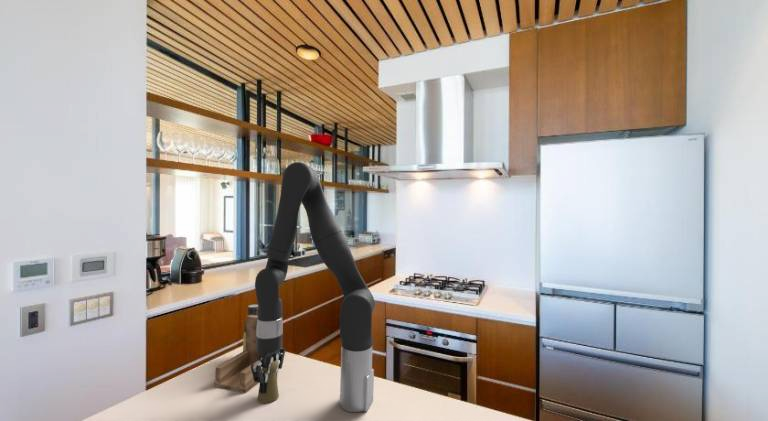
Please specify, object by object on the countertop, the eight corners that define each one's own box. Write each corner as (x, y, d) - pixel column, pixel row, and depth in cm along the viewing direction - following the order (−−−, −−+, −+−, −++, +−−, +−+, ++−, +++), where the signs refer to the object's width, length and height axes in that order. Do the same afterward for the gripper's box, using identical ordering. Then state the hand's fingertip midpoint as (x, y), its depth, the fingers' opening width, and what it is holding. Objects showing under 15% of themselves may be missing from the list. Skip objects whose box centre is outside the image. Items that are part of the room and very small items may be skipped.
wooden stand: (277, 368, 114) (278, 318, 114) (245, 392, 98) (247, 334, 99) (248, 363, 117) (250, 314, 117) (214, 386, 102) (215, 329, 102)
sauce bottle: (256, 362, 118) (257, 308, 118) (239, 361, 118) (241, 308, 119) (263, 354, 125) (264, 303, 125) (247, 354, 125) (248, 303, 125)
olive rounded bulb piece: (269, 389, 100) (270, 354, 100) (283, 395, 97) (283, 359, 97) (252, 398, 95) (253, 361, 95) (266, 405, 92) (267, 367, 92)
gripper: (265, 343, 88) (263, 405, 88) (293, 326, 102) (292, 380, 102) (242, 339, 91) (241, 400, 90) (273, 323, 104) (272, 376, 104)
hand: (268, 389), depth 96 cm, fingers closed on olive rounded bulb piece, 4 cm apart
